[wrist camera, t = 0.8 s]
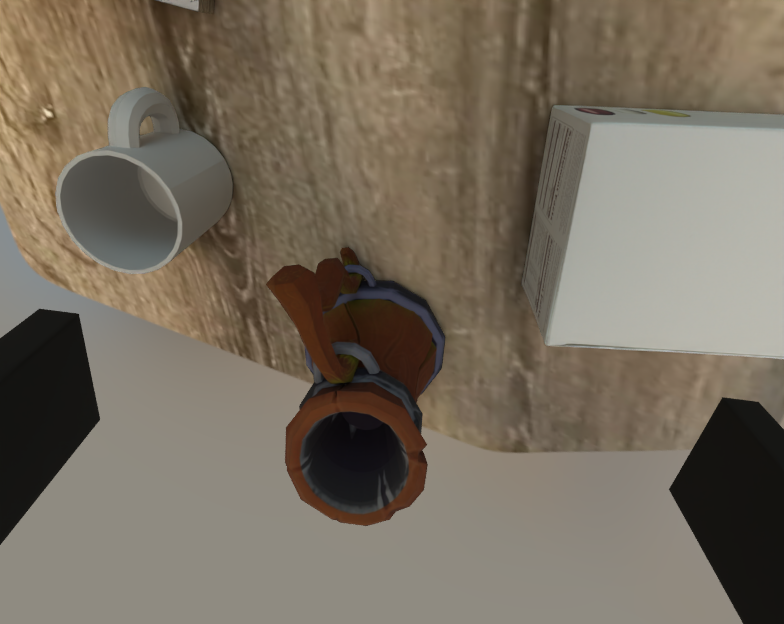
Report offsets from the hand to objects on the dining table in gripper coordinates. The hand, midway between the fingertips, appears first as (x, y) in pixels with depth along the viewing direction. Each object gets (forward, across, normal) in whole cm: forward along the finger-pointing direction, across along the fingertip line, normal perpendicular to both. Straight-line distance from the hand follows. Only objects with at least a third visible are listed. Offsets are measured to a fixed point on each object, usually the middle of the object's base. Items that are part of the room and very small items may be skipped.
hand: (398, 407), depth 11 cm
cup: (+28, -16, -3) cm, 32 cm away
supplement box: (+27, +18, -2) cm, 32 cm away
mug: (+27, -2, -13) cm, 30 cm away
